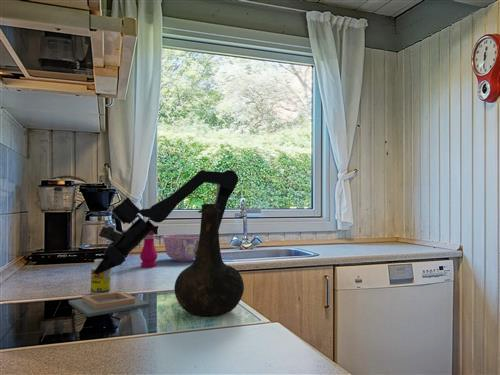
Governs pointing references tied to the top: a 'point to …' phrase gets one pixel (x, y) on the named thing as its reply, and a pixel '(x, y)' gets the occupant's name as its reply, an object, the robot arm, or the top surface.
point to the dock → (107, 303)
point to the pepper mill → (148, 251)
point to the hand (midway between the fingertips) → (96, 271)
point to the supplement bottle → (100, 280)
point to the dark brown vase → (209, 274)
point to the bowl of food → (180, 246)
